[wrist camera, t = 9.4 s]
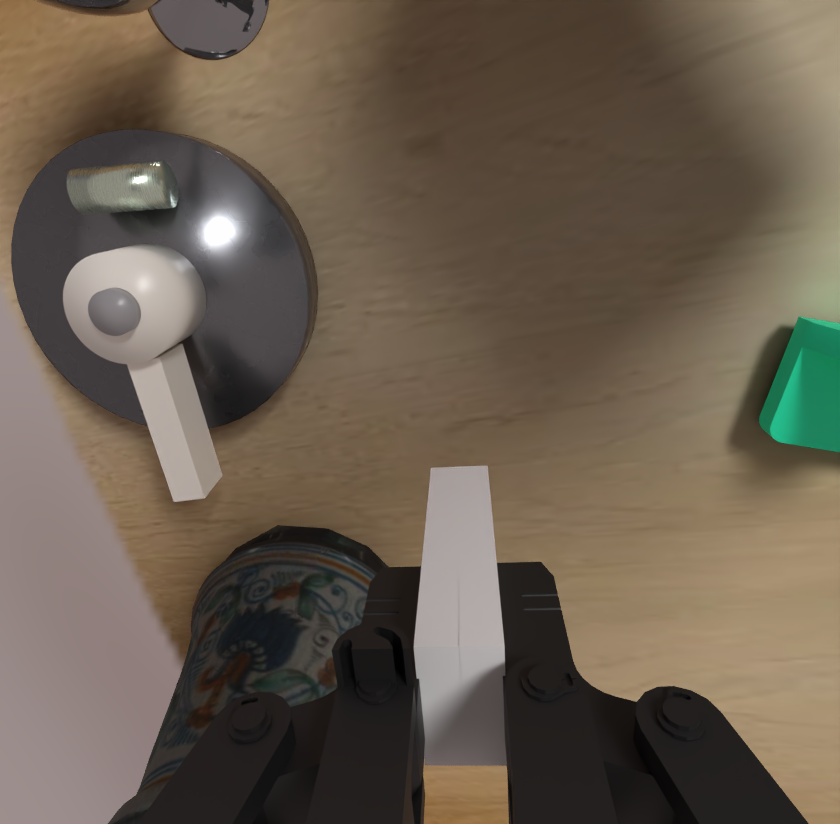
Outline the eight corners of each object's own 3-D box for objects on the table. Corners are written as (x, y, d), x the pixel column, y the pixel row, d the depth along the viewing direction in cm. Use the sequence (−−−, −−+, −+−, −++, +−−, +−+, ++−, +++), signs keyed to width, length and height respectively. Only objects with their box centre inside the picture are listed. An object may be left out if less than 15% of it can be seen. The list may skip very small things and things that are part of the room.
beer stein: (376, 498, 45) (284, 856, 21) (448, 695, 51) (438, 1132, 28) (174, 546, 47) (-102, 910, 24) (267, 727, 54) (121, 1151, 31)
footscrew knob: (93, 251, 36) (35, 263, 31) (189, 235, 35) (146, 245, 30) (169, 477, 41) (131, 518, 36) (255, 467, 40) (227, 507, 36)
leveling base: (5, 145, 37) (-66, 141, 32) (295, 119, 35) (268, 111, 30) (86, 419, 44) (37, 451, 39) (334, 407, 42) (317, 439, 37)
